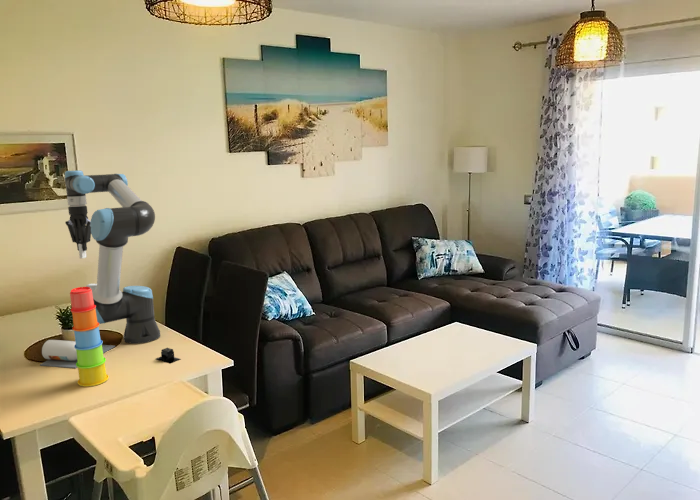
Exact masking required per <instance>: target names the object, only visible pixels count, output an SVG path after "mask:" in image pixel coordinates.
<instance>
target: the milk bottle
mask: <svg viewBox="0 0 700 500" xmlns="http://www.w3.org/2000/svg"><path fill="white" fill-rule="evenodd" d="M75 344H76V342H75V340H60V339H48V340H46V341H45V342H44V344H43V345H42V347H41V355H42V357H43V358H44V359H45V360H65V361H75V360H77V352H76V349H75V348H74V346H75Z"/></svg>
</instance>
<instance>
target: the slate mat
mask: <svg viewBox="0 0 700 500" xmlns="http://www.w3.org/2000/svg"><path fill="white" fill-rule="evenodd" d="M115 347H116V345H111V344H109V345H108V344H102V350H103V354H105V353H106V352H108V351H110V350H112V349H115ZM77 362H78V361H77V360H75V361H65V360H50V359H47V360H46V361H44V362H42V363H40V364H39V366H41V367H53V368H54V367H55V368H64V369H78V367H77V366H76V363H77Z"/></svg>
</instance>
